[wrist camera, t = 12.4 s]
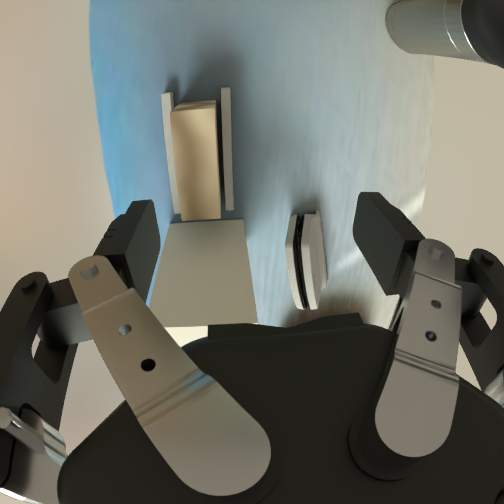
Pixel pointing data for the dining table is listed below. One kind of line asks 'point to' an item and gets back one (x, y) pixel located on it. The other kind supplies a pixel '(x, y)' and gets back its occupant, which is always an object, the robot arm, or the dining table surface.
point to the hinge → (306, 259)
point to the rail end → (196, 159)
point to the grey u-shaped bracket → (203, 257)
